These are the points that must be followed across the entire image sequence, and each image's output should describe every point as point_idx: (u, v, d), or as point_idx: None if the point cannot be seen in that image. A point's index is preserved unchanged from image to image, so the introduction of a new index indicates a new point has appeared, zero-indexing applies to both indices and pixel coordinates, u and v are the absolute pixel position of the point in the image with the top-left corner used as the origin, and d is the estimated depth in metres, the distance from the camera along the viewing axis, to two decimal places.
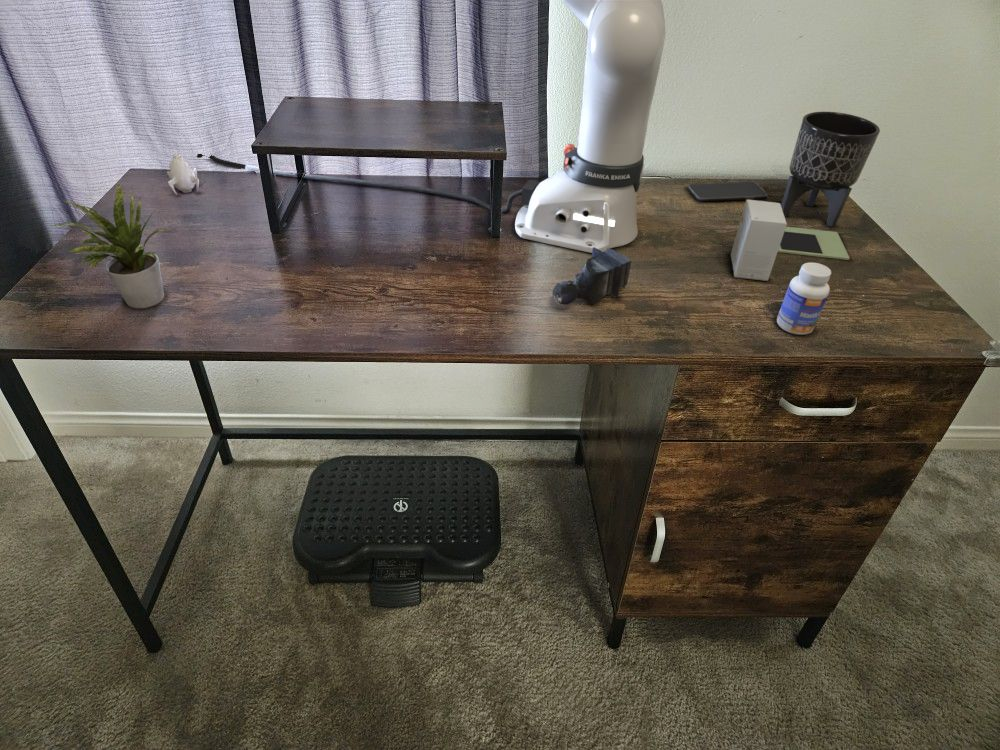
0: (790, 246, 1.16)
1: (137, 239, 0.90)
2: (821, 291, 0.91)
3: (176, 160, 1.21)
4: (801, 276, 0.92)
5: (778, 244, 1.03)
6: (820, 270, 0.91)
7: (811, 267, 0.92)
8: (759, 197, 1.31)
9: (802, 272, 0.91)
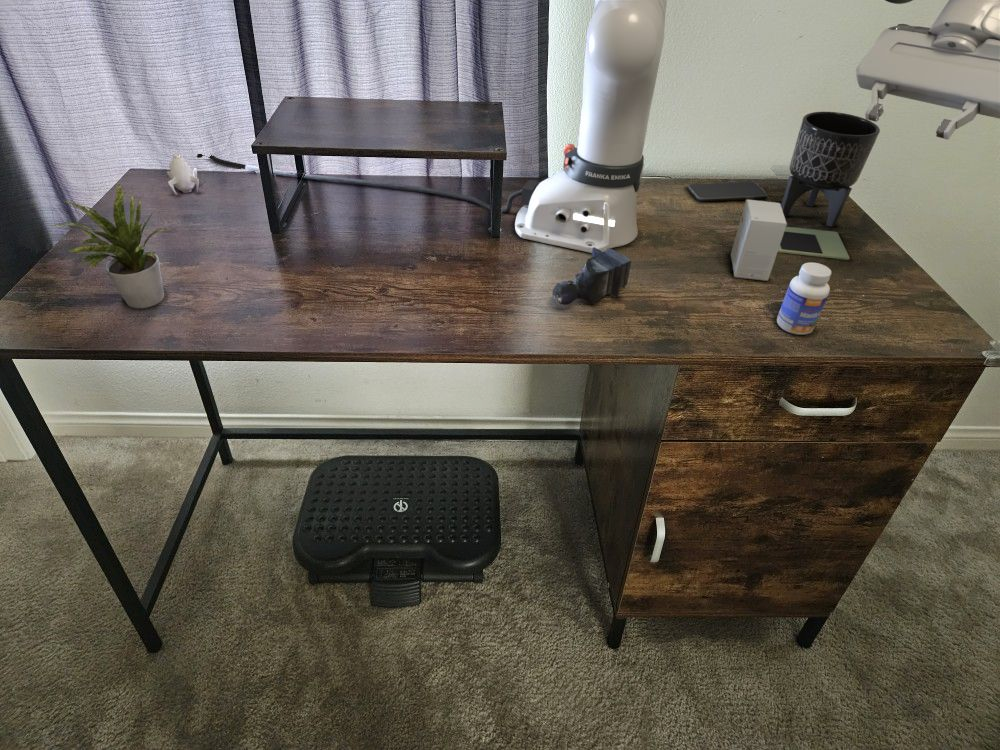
0: (790, 246, 1.16)
1: (137, 239, 0.90)
2: (821, 291, 0.91)
3: (176, 160, 1.21)
4: (801, 276, 0.92)
5: (778, 244, 1.03)
6: (820, 270, 0.91)
7: (811, 267, 0.92)
8: (759, 197, 1.31)
9: (802, 272, 0.91)
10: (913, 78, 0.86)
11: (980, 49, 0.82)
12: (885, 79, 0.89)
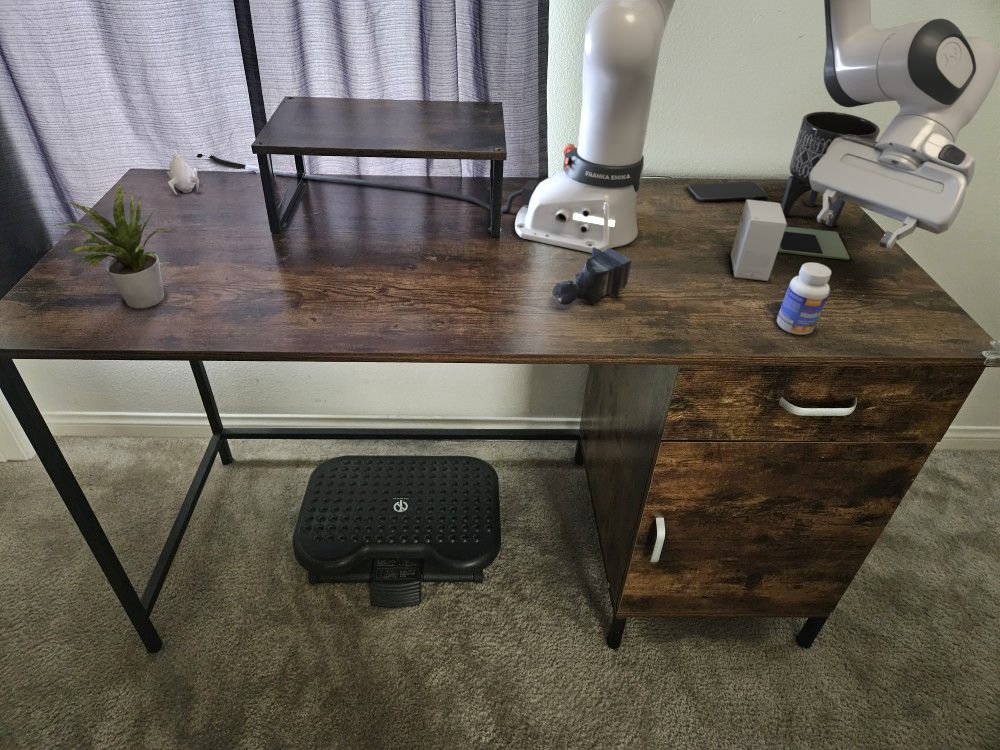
0: (790, 246, 1.16)
1: (137, 239, 0.90)
2: (821, 291, 0.91)
3: (176, 160, 1.21)
4: (801, 276, 0.92)
5: (778, 244, 1.03)
6: (820, 270, 0.91)
7: (811, 267, 0.92)
8: (759, 197, 1.31)
9: (802, 272, 0.91)
10: (860, 190, 0.93)
11: (920, 169, 0.90)
12: (835, 187, 0.95)
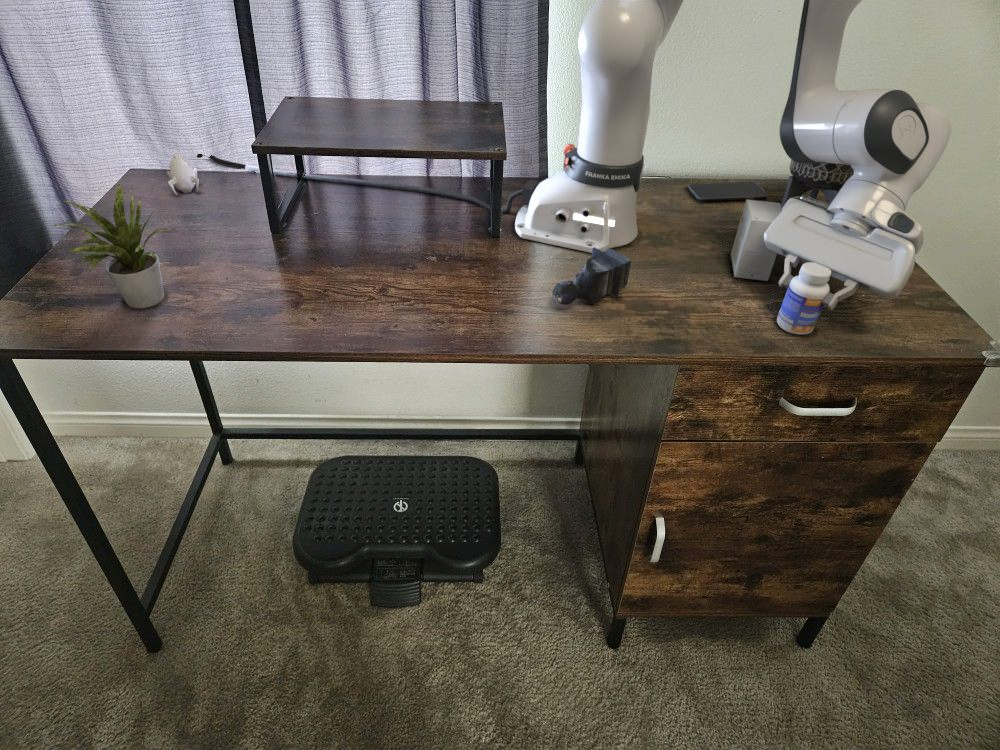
0: None
1: (137, 239, 0.90)
2: (821, 291, 0.91)
3: (176, 160, 1.21)
4: (801, 276, 0.92)
5: None
6: (820, 270, 0.91)
7: (811, 267, 0.92)
8: (759, 197, 1.31)
9: (802, 272, 0.91)
10: (812, 253, 0.93)
11: (870, 235, 0.89)
12: (788, 249, 0.95)
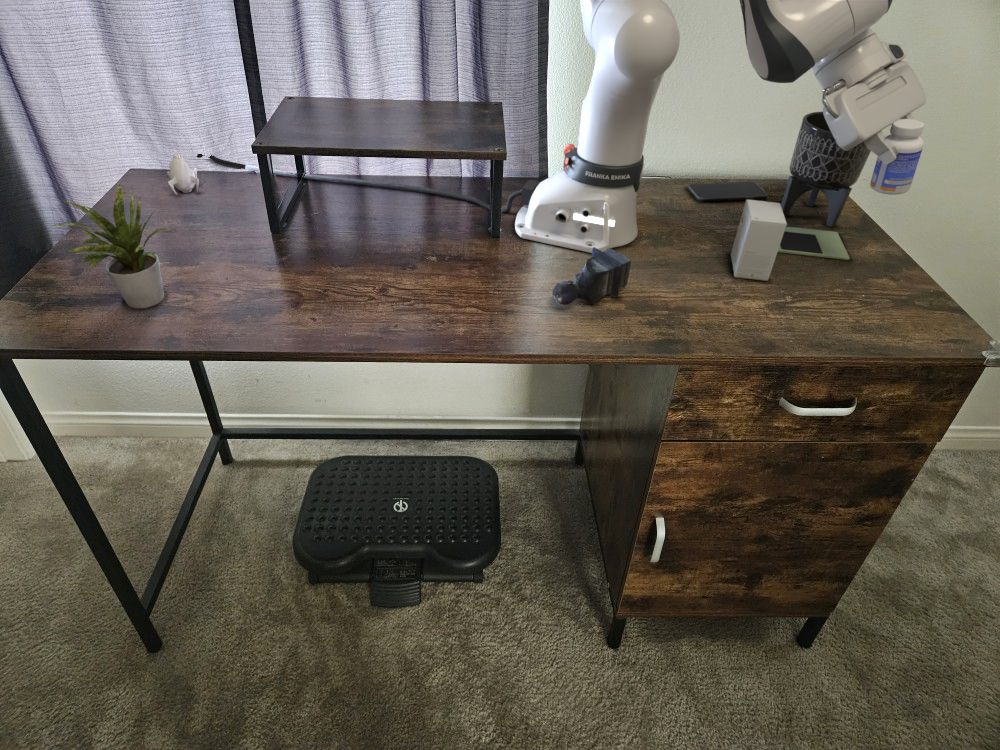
0: (790, 246, 1.16)
1: (137, 239, 0.90)
2: None
3: (176, 160, 1.21)
4: (915, 135, 0.91)
5: (778, 244, 1.03)
6: (910, 122, 0.92)
7: (906, 125, 0.92)
8: (759, 197, 1.31)
9: (916, 131, 0.91)
10: (889, 118, 0.92)
11: (889, 76, 0.94)
12: (879, 130, 0.91)
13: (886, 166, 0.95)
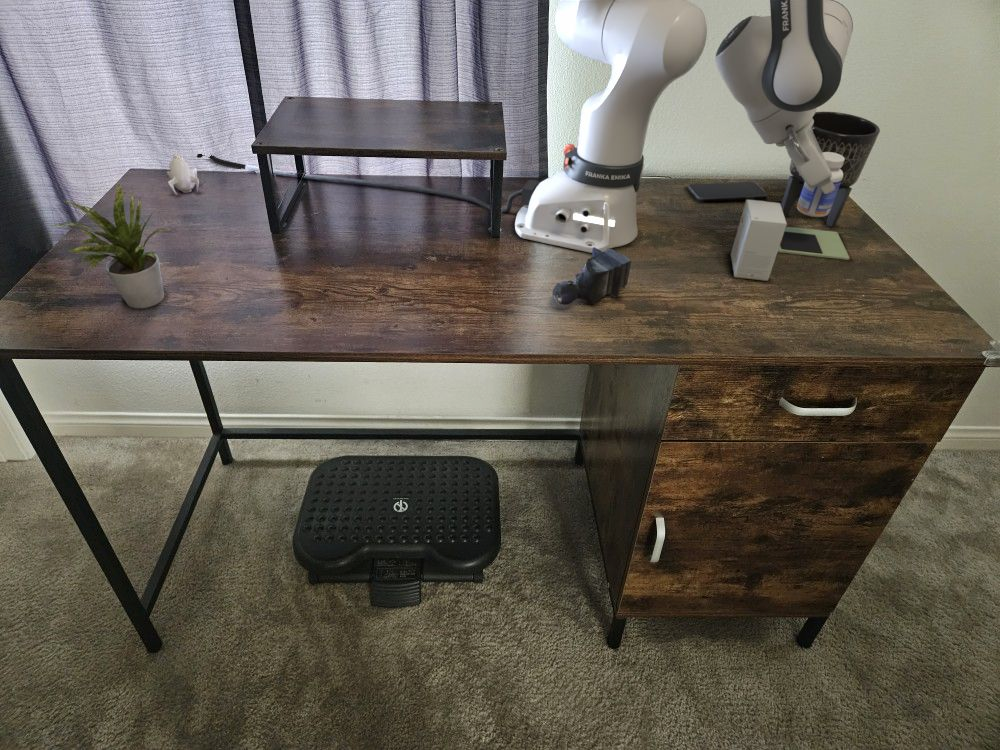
0: (790, 246, 1.16)
1: (137, 239, 0.90)
2: None
3: (176, 160, 1.21)
4: (841, 166, 1.06)
5: (778, 244, 1.03)
6: (831, 155, 1.07)
7: (833, 158, 1.06)
8: (759, 197, 1.31)
9: (843, 162, 1.05)
10: (822, 154, 1.04)
11: None
12: None
13: (821, 194, 1.08)
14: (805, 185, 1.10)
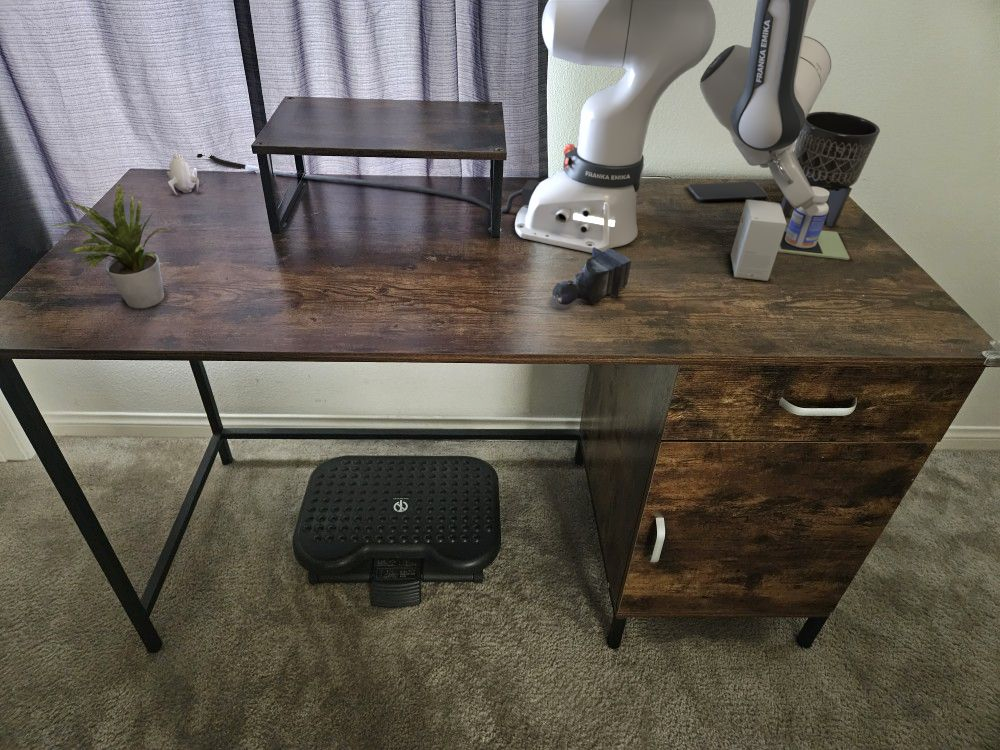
0: (790, 246, 1.16)
1: (137, 239, 0.90)
2: None
3: (176, 160, 1.21)
4: (827, 199, 1.10)
5: (778, 244, 1.03)
6: (817, 189, 1.11)
7: (818, 192, 1.10)
8: (759, 197, 1.31)
9: (828, 196, 1.10)
10: (804, 174, 1.08)
11: None
12: None
13: (807, 227, 1.12)
14: (792, 218, 1.14)
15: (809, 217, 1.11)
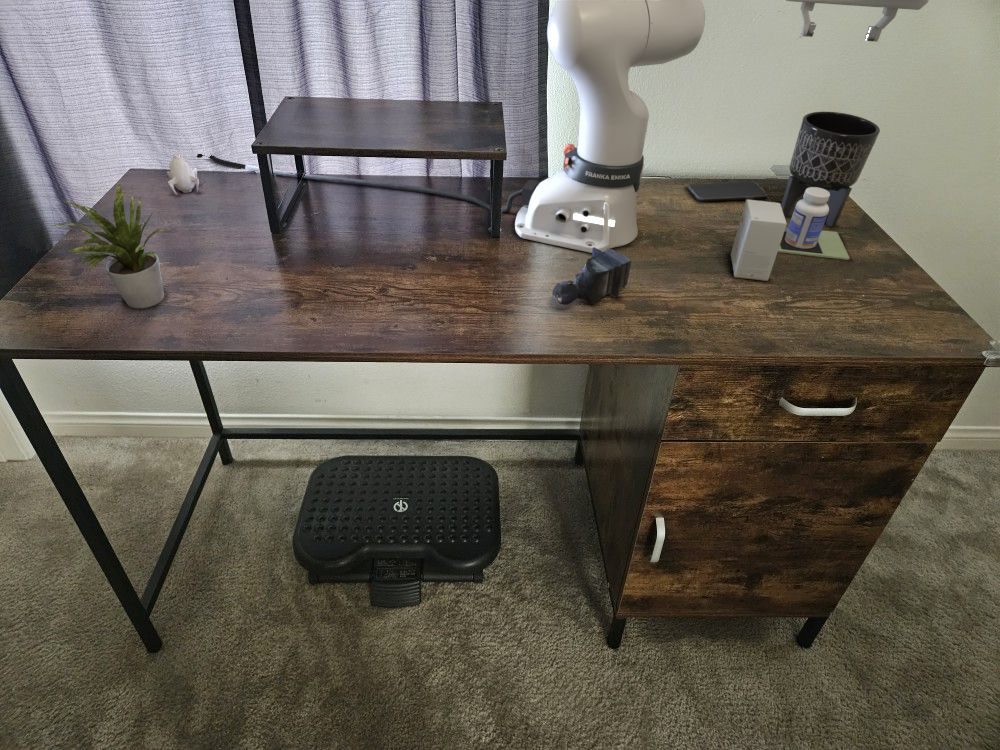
0: (790, 246, 1.16)
1: (137, 239, 0.90)
2: None
3: (176, 160, 1.21)
4: (827, 201, 1.10)
5: (778, 244, 1.03)
6: (817, 190, 1.11)
7: (819, 193, 1.10)
8: (759, 197, 1.31)
9: (828, 197, 1.10)
10: None
11: None
12: None
13: (808, 228, 1.12)
14: (792, 218, 1.14)
15: (809, 218, 1.11)
